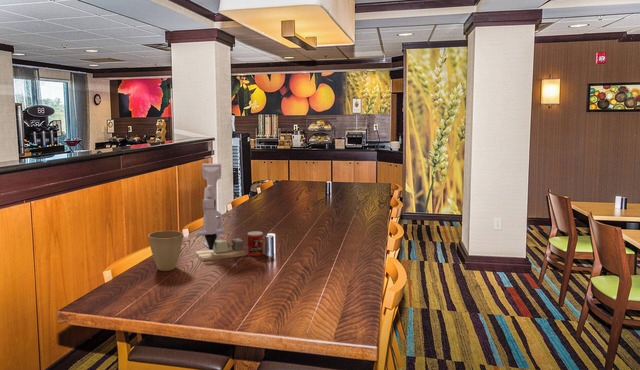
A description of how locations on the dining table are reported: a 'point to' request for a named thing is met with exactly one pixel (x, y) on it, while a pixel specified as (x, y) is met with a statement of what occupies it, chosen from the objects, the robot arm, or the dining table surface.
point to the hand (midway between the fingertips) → (210, 249)
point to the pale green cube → (220, 246)
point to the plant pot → (166, 248)
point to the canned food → (255, 243)
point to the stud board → (233, 251)
